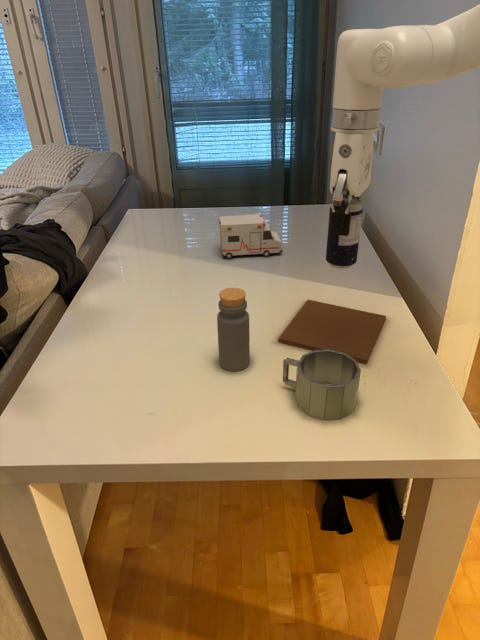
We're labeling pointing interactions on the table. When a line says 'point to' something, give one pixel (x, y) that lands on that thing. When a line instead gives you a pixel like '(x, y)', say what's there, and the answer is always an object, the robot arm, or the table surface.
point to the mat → (334, 329)
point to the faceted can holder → (322, 397)
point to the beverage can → (345, 239)
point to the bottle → (233, 330)
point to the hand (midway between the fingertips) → (344, 227)
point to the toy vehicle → (247, 236)
